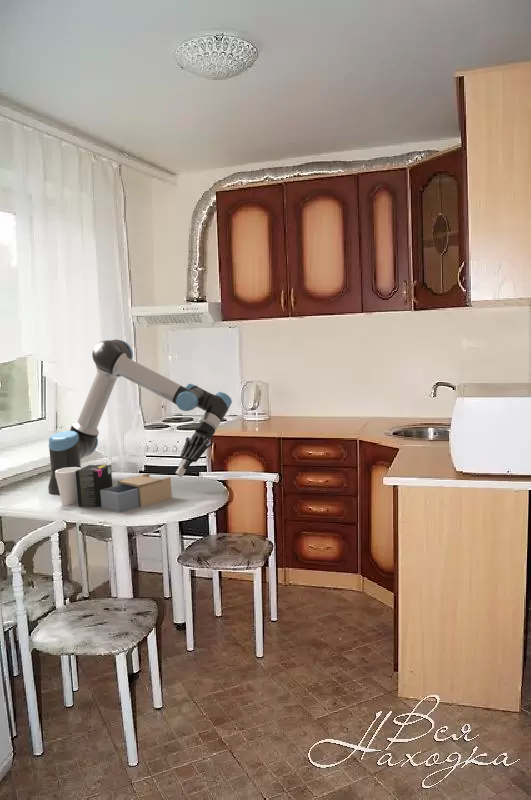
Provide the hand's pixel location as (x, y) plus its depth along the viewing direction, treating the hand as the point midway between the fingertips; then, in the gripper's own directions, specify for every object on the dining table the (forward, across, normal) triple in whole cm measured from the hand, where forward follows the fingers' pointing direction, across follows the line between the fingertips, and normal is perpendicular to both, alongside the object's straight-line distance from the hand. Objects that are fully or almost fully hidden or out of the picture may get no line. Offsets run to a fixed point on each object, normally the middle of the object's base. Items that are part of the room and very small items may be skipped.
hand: (178, 474), depth 250 cm
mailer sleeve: (+17, 0, +7) cm, 18 cm away
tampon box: (+26, +13, +15) cm, 33 cm away
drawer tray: (+20, 0, +10) cm, 23 cm away
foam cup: (+28, +25, +17) cm, 41 cm away
